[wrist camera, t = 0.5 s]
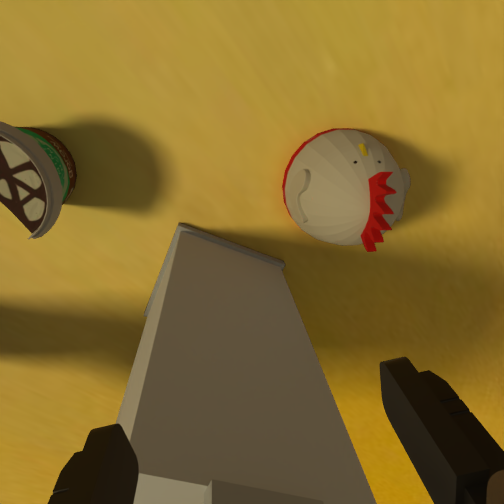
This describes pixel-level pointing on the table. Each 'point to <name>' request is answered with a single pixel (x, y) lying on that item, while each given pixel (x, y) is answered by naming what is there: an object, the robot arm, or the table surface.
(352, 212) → the white chicken figure
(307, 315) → the table surface
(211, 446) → the pedestal
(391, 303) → the table surface
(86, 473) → the robot arm
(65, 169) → the food container
